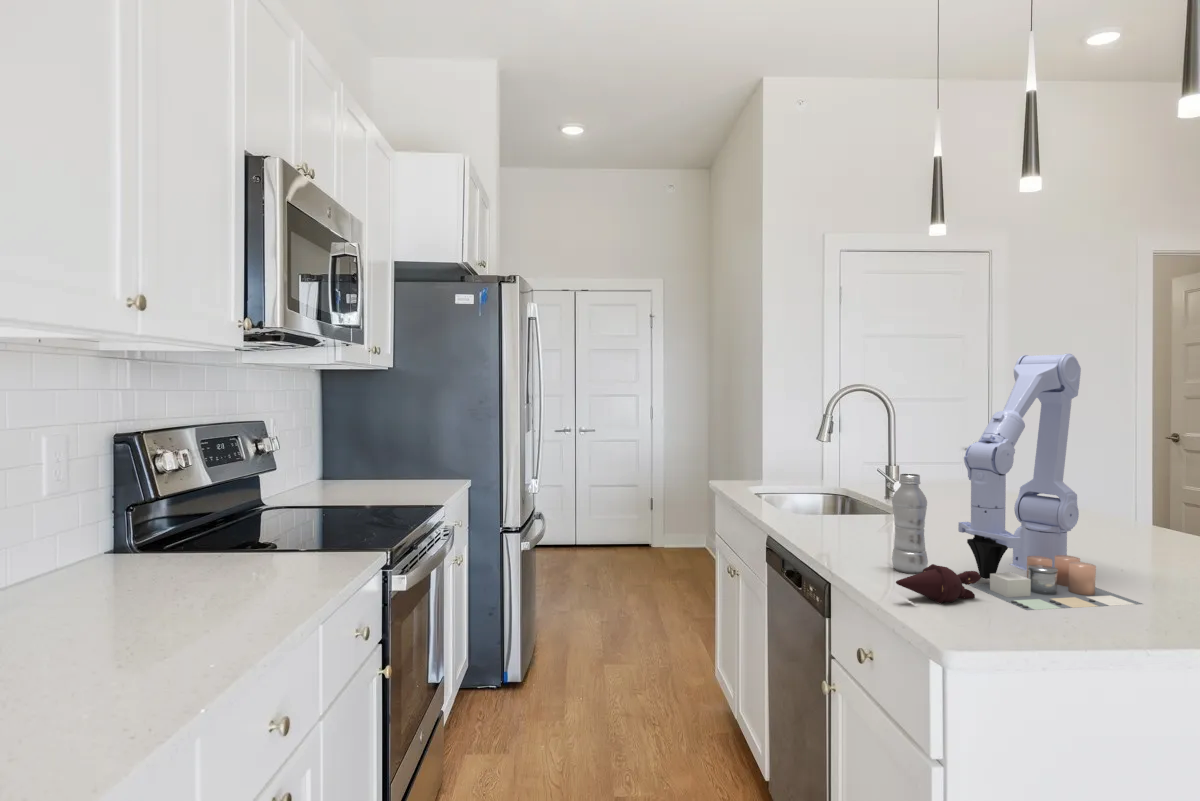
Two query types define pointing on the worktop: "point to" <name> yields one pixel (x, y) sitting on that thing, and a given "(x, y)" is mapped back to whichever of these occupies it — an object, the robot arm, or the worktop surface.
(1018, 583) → the white block
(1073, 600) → the board
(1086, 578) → the tan rounded cylinder
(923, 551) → the plastic bottle
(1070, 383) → the robot arm
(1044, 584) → the tin
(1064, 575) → the tan rounded block
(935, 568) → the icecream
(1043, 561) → the tan rounded block
